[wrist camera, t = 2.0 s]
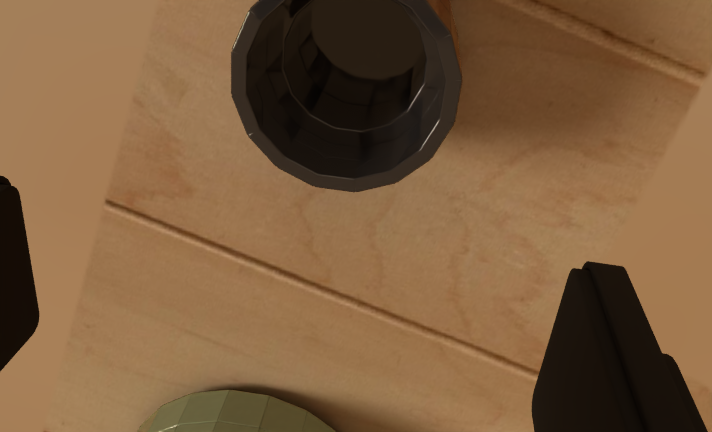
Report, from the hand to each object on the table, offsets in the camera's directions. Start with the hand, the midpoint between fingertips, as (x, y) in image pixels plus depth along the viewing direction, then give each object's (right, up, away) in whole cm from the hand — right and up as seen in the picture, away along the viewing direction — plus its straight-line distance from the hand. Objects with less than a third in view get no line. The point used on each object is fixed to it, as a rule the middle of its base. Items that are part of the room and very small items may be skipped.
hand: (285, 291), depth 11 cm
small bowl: (+1, +8, +14) cm, 16 cm away
